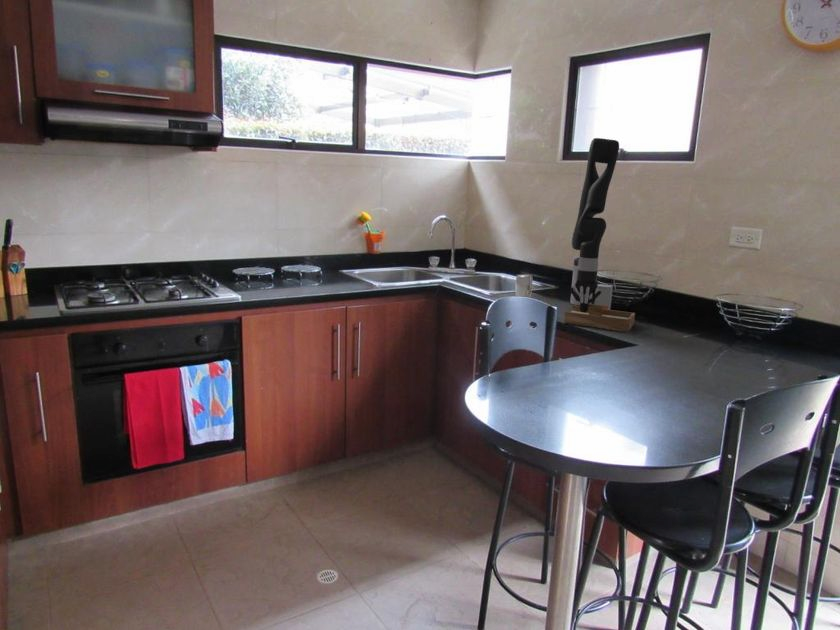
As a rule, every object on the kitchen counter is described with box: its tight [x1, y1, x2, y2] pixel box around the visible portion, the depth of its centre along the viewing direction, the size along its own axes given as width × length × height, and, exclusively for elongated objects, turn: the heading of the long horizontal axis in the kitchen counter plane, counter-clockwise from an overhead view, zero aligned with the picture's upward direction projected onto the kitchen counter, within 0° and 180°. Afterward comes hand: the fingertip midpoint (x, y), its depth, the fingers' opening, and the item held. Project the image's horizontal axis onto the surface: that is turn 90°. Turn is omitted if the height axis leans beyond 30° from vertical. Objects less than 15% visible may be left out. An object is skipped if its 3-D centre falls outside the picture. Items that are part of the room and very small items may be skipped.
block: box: [588, 303, 603, 316], centre depth 241 cm, size 4×4×4 cm
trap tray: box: [563, 304, 636, 333], centre depth 238 cm, size 14×24×4 cm, turn 64°
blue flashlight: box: [514, 274, 533, 298], centre depth 255 cm, size 7×7×15 cm
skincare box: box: [594, 283, 614, 310], centre depth 256 cm, size 6×4×12 cm
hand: (583, 312), depth 243 cm, fingers closed
